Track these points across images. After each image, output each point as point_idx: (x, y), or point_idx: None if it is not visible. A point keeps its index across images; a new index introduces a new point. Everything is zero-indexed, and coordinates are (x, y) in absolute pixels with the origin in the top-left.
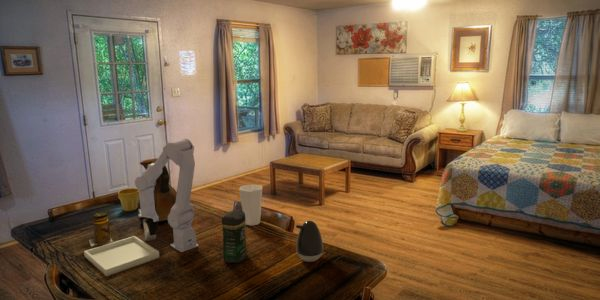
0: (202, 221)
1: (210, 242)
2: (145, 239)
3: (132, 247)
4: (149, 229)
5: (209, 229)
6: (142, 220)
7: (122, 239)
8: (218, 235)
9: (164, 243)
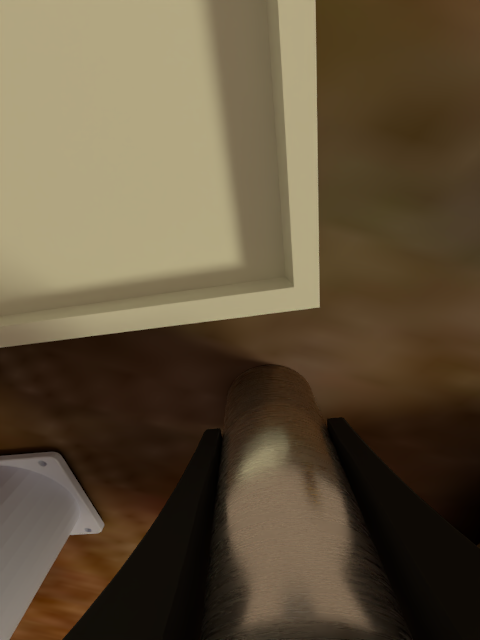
0: None
1: None
2: (265, 368)
3: (106, 211)
4: (175, 499)
5: None
6: (445, 634)
7: (313, 115)
8: (95, 598)
9: (119, 437)
